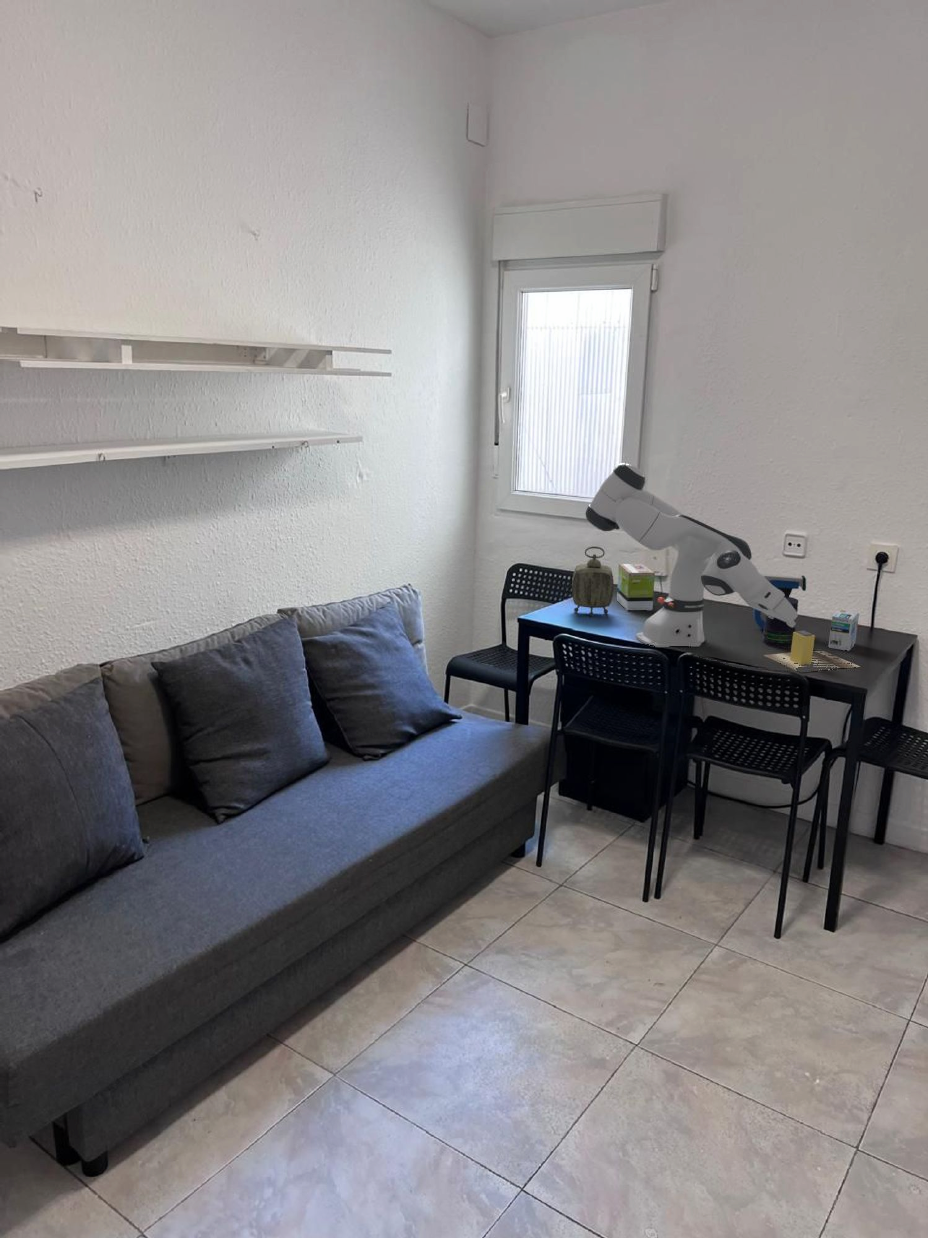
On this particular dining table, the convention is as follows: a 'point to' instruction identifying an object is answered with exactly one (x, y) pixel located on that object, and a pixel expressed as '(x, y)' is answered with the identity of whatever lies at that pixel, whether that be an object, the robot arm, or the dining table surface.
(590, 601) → the tabletop clock
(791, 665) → the plywood sheet
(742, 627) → the dining table surface
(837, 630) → the light bulb box
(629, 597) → the tea box
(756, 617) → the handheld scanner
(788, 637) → the storage jar
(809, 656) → the yellow rectangular block
